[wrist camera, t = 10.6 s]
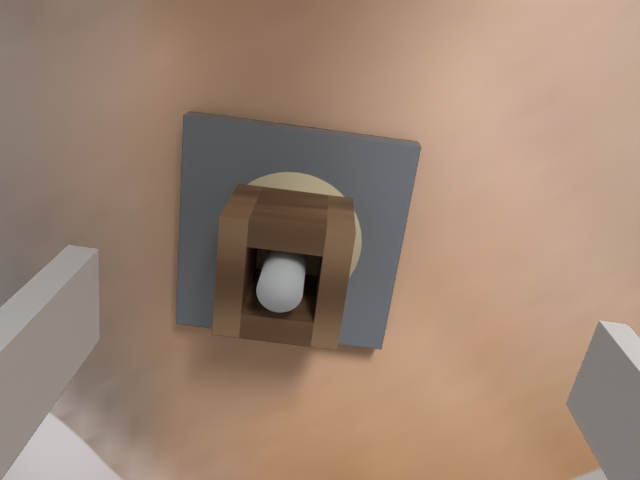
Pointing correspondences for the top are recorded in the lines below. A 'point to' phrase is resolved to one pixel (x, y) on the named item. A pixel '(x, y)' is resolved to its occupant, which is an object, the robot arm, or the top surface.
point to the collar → (288, 236)
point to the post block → (298, 175)
